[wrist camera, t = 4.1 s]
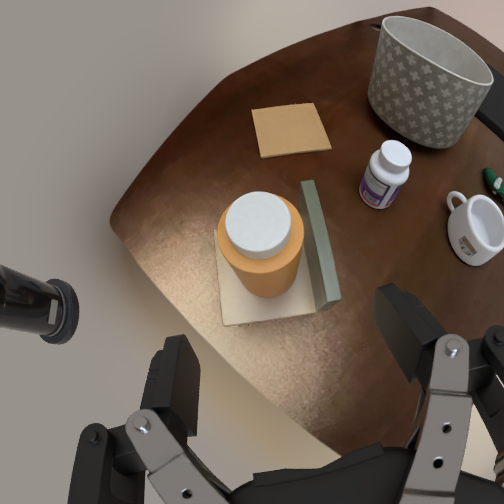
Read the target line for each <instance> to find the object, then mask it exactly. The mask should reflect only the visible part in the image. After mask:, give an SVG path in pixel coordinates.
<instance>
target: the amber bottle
mask: <svg viewBox="0 0 504 504" xmlns="http://www.w3.org/2000/svg"><path fill="white" fill-rule="evenodd" d="M303 240H304V225H303V221H302V218H301V216H300V214H299V212H298V211H297V209H296V208H295V207H294V206H293V205H292V204H291V203H290V202H288V201H287V200H286V199H284V198H282V197H280V196H277V195H274V194H271V193H267V192H252V193H248V194H245V195H243V196H241V197H240V198H238V199H237V200H236V201H235V202H233V203H232V204H231V205H230V206H229V207H228V208H227V209H226V210H225V212H224V213H223V215H222V217H221V219H220V221H219V224H218V228H217V241H218V246H219V249H220V251H221V253H222V254H223V256H224V257H225V259H226V260H227V262H228V263H229V265H230V266H231V268H232V269H233V271H234V272H235V274H236V275H237V277H238V278H239V280H240V281H241V283H242V284H243V285H244V287H245V288H246V289H247V290H248V291H249V292H251V293H253V294H255V295H257V296H260V297H275V296H278V295H280V294H282V293H284V292H285V291H287V290H288V289H289V288H290V287H291V286H292V284H293V283H294V281H295V279H296V276H297V271H298V266H299V261H300V256H301V251H302V246H303Z"/></svg>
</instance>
